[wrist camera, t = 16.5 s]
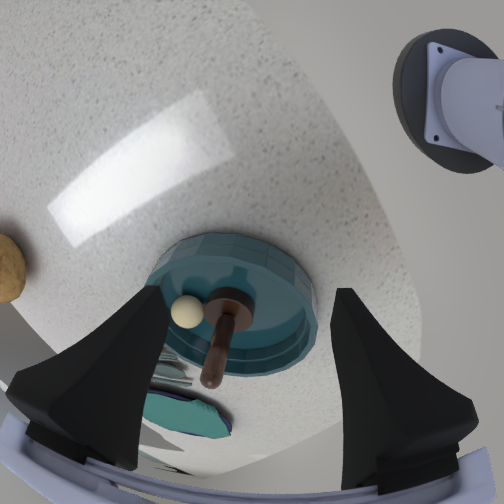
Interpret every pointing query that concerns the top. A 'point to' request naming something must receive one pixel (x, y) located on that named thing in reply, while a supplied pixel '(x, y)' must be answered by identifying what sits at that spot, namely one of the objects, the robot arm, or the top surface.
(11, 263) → the potato
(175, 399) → the cutlery set
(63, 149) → the top surface
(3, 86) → the top surface
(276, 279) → the bowl
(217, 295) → the wooden pestle
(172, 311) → the dough ball
